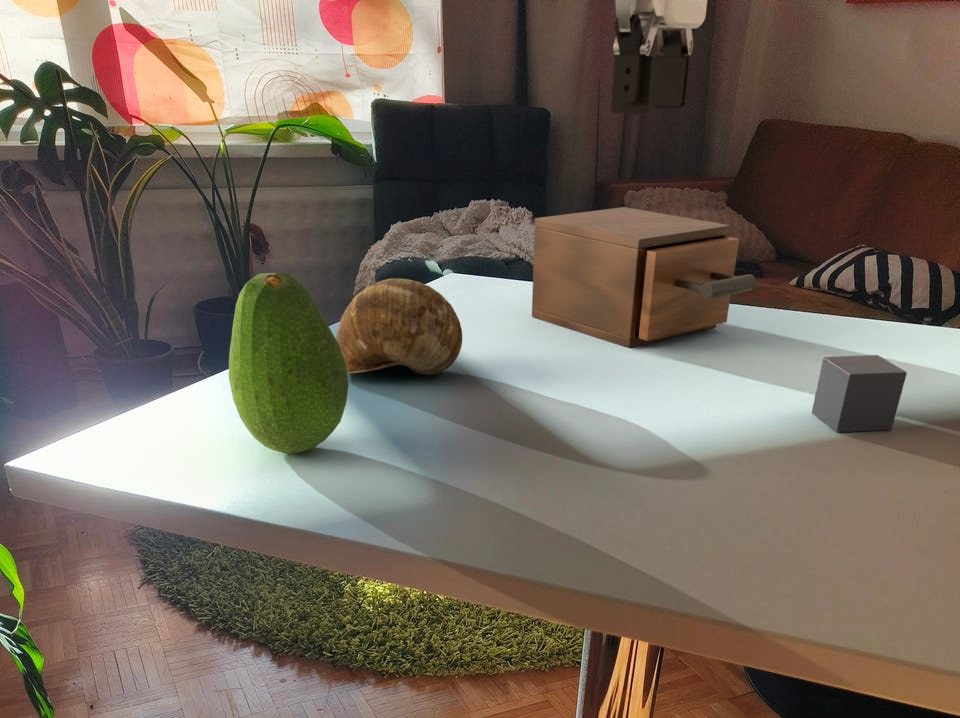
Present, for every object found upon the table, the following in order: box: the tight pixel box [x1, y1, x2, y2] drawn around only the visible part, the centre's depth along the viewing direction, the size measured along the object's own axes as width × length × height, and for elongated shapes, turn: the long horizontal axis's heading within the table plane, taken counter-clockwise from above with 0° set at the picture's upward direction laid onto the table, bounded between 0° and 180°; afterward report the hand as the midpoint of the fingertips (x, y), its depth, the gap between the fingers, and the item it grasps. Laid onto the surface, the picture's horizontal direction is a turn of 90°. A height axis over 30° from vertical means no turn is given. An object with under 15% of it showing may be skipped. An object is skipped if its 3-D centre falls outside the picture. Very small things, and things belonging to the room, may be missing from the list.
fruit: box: [228, 272, 349, 455], centre depth 60 cm, size 8×8×12 cm
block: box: [811, 354, 908, 433], centre depth 67 cm, size 4×4×4 cm
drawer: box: [636, 236, 757, 341], centre depth 87 cm, size 18×11×8 cm, turn 37°
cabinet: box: [531, 206, 732, 348], centre depth 90 cm, size 15×13×10 cm
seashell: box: [335, 278, 463, 376], centre depth 76 cm, size 11×9×8 cm
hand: (649, 110), depth 78 cm, fingers open, 9 cm apart
